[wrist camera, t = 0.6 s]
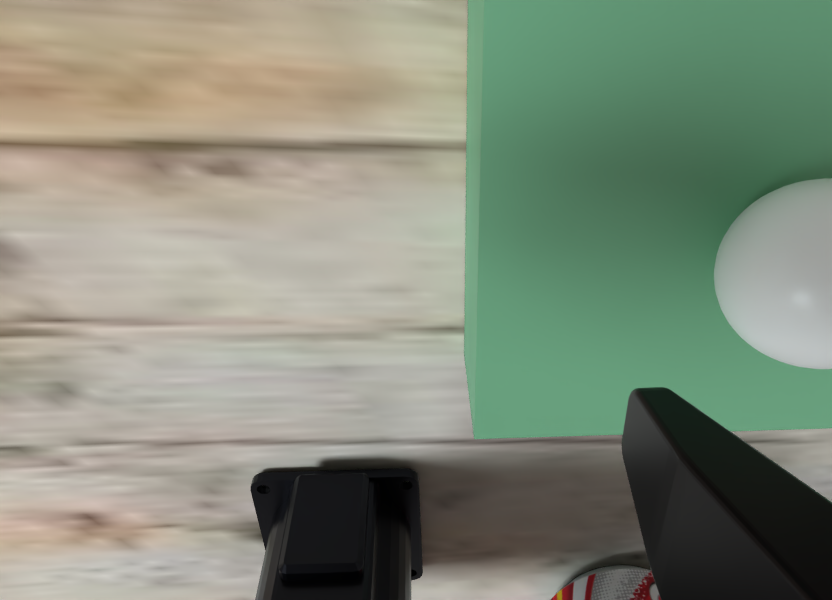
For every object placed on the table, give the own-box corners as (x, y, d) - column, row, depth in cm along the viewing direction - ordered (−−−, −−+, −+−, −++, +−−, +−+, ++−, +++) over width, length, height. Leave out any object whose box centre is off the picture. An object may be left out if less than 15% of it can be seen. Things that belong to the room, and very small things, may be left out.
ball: (831, 300, 16) (939, 406, 13) (673, 304, 16) (741, 412, 13) (887, 147, 14) (1036, 228, 11) (706, 153, 14) (797, 236, 11)
